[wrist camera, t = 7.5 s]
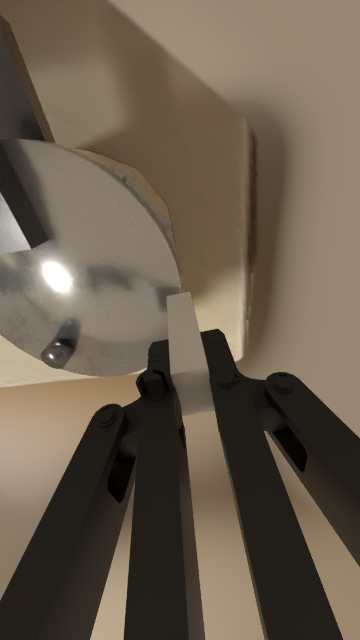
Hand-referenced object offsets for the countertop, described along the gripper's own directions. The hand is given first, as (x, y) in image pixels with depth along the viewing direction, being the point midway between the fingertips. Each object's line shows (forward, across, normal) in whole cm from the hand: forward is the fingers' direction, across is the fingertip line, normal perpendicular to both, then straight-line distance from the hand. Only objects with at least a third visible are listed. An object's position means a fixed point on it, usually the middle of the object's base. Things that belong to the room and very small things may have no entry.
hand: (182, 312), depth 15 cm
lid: (+3, -8, +3) cm, 9 cm away
